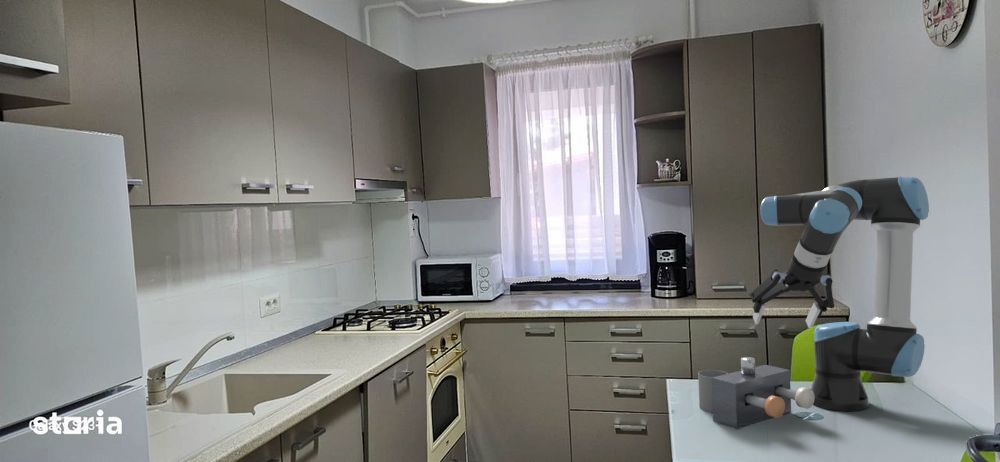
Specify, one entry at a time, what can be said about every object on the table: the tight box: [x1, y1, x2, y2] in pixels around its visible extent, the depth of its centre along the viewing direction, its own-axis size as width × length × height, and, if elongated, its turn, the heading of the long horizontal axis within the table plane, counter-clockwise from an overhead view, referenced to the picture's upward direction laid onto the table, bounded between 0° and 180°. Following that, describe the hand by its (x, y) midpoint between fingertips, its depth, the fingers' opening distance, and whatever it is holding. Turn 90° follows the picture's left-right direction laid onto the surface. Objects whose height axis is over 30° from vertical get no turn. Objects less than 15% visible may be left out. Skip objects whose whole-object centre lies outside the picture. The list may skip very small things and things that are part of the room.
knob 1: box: [745, 394, 785, 419], centre depth 169 cm, size 10×5×5 cm, turn 30°
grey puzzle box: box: [712, 364, 792, 430], centre depth 179 cm, size 8×22×12 cm, turn 120°
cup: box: [697, 369, 729, 413], centre depth 189 cm, size 8×8×10 cm
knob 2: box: [775, 386, 815, 410], centre depth 175 cm, size 10×5×5 cm, turn 30°
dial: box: [740, 356, 756, 375], centre depth 180 cm, size 4×4×4 cm
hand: (781, 322), depth 167 cm, fingers open, 13 cm apart
